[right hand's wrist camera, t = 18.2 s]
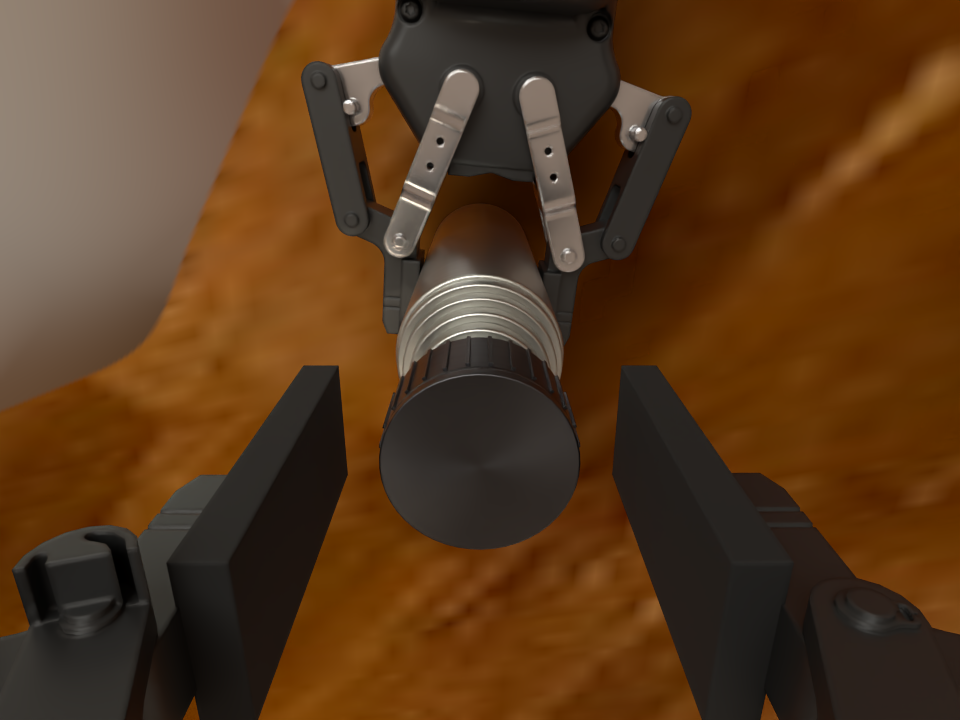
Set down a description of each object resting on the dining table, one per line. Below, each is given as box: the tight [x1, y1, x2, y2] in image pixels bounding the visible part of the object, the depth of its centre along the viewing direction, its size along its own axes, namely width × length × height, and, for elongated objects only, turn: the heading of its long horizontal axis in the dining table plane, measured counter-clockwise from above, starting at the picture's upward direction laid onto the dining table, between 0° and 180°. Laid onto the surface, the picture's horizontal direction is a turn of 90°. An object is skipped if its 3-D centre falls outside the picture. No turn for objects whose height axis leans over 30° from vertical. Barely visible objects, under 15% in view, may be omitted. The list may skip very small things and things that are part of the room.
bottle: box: [396, 203, 564, 379], centre depth 22 cm, size 5×5×20 cm
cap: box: [379, 336, 580, 549], centre depth 13 cm, size 4×4×2 cm
